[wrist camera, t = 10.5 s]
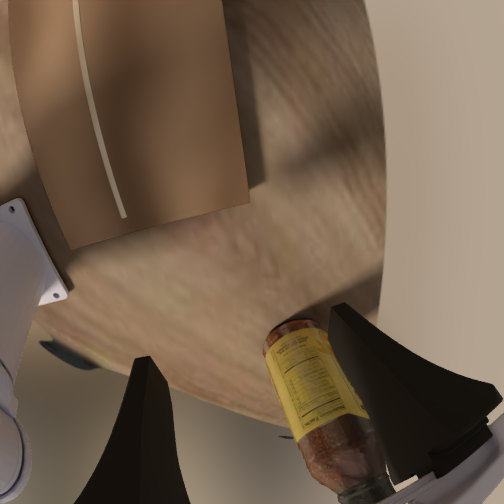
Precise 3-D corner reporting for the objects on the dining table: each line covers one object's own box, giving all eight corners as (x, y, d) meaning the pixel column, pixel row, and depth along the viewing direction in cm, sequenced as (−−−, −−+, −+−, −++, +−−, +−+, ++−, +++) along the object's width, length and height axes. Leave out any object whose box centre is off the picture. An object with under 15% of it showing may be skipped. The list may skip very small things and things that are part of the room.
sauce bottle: (317, 348, 29) (402, 513, 13) (260, 364, 28) (331, 547, 12) (325, 304, 25) (440, 502, 9) (257, 321, 24) (352, 551, 8)
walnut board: (76, 237, 16) (70, 250, 15) (23, -61, 3) (14, -68, 2) (244, 193, 18) (250, 203, 16) (199, -114, 5) (202, -126, 4)
